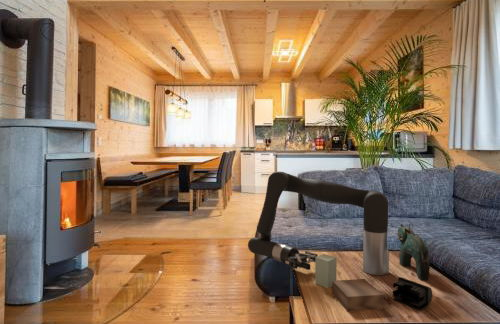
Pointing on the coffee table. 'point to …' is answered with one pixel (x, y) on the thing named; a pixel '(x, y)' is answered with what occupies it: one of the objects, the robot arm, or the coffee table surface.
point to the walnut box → (357, 295)
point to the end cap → (412, 294)
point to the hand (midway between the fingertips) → (316, 264)
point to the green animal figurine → (413, 251)
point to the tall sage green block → (325, 270)
